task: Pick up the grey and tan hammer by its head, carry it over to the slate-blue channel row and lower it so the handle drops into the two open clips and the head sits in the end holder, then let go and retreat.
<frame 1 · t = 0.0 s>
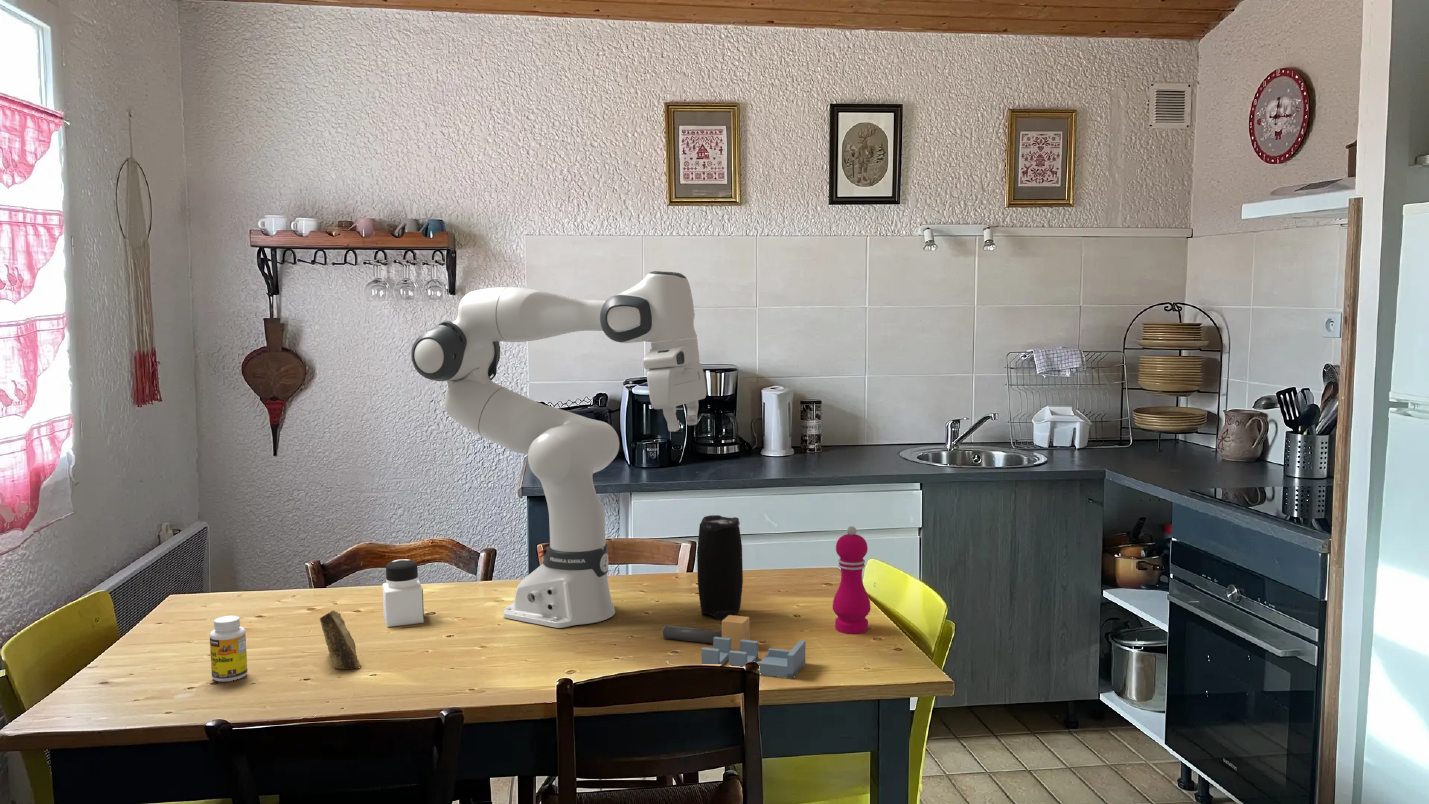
hand: (683, 427, 201), 39 cm above the table, tool pointing down, fingers open, 8 cm apart
supplement bottle: (230, 678, 180), on the table
medicine bottle: (403, 621, 211), on the table
grey and tan hammer: (735, 645, 193), on the table
rock: (343, 661, 188), on the table
holder: (779, 668, 181), on the table
portable speaker: (720, 615, 212), on the table
clip b: (716, 661, 185), on the table
pepper mill: (851, 629, 202), on the table
clip a: (743, 664, 183), on the table
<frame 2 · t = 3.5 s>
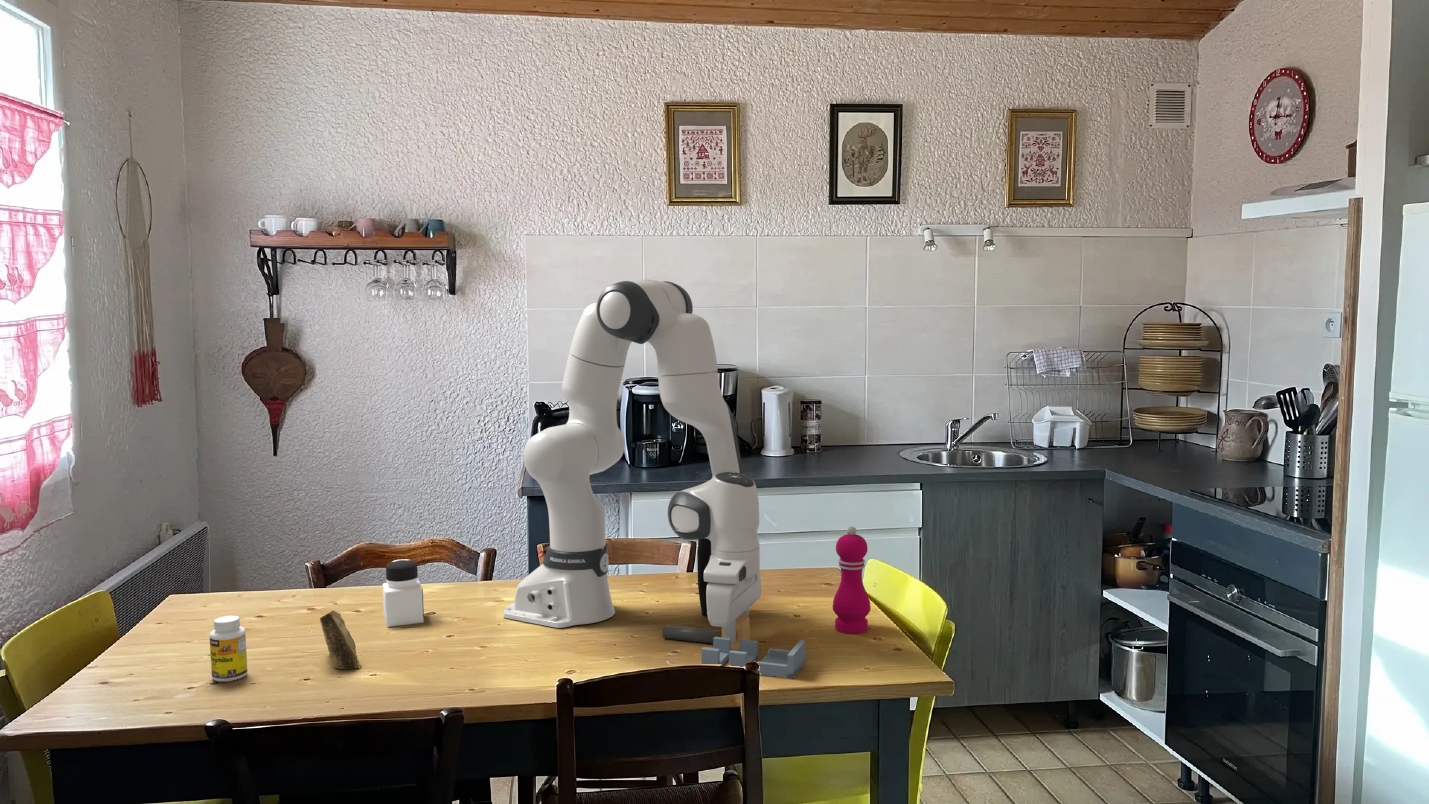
hand: (736, 636, 193), 2 cm above the table, tool pointing down, fingers closed on grey and tan hammer, 4 cm apart
grey and tan hammer: (735, 645, 193), on the table, touching gripper
portable speaker: (720, 615, 212), on the table, touching arm
everything else where it was.
when the fingers open (4 cm above the table, at t = 7.7 s): grey and tan hammer drops 1 cm, resting on clip a, clip b, holder.
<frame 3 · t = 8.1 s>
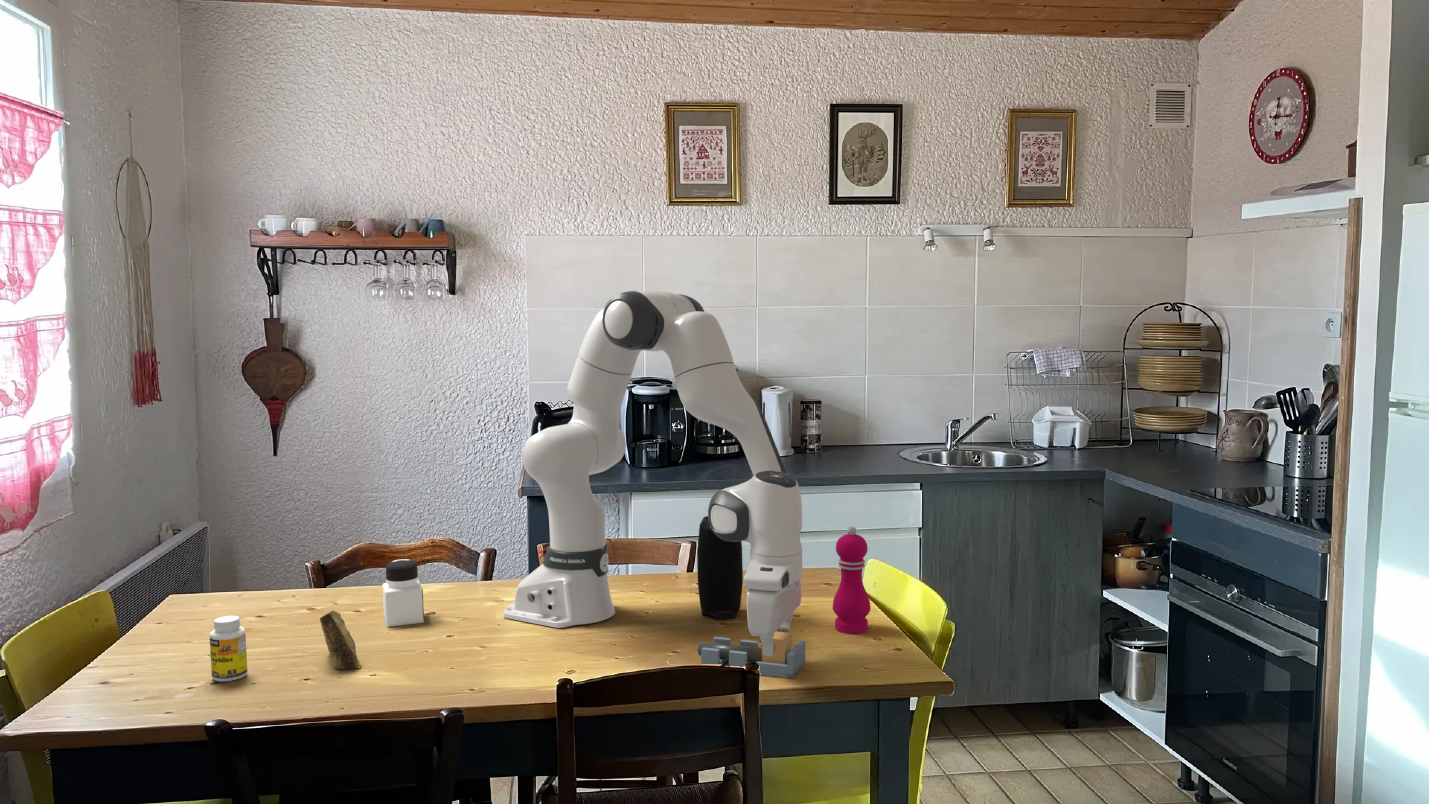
hand: (776, 646, 181), 4 cm above the table, tool pointing down, fingers open, 8 cm apart
grey and tan hammer: (776, 663, 181), point 1 cm above the table, touching clip a, clip b, holder
portable speaker: (720, 615, 212), on the table
everything else where it was.
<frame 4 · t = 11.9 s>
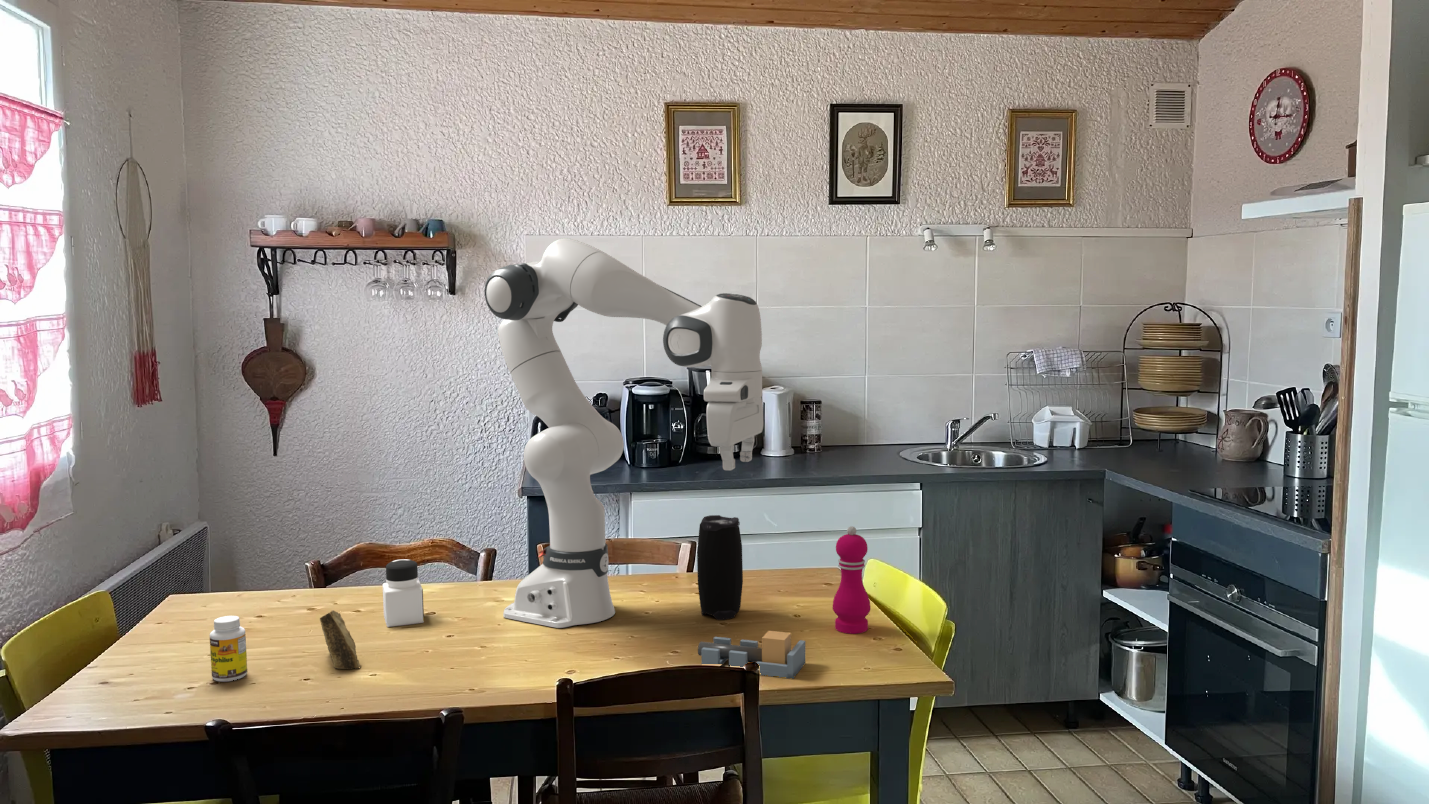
hand: (737, 465, 186), 34 cm above the table, tool pointing down, fingers open, 8 cm apart
nothing on the table moved.
at the end: grey and tan hammer 0.2 cm off-centre on the holder, point 0.8 cm above the holder's base; grey and tan hammer tilted 0°; the gripper is holding nothing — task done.
